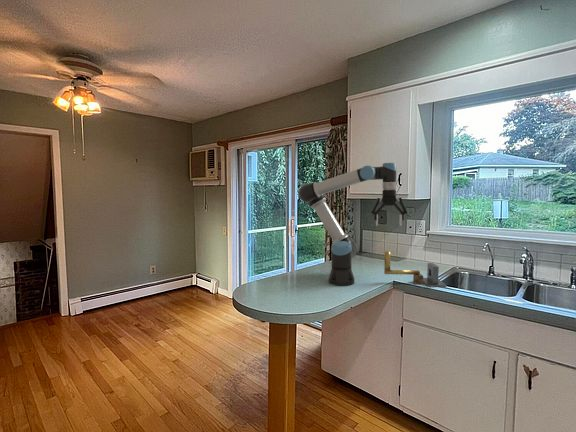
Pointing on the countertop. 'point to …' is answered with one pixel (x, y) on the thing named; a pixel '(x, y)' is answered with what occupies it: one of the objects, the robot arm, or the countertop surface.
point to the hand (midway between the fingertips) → (388, 225)
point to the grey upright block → (433, 276)
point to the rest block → (418, 279)
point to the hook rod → (387, 270)
